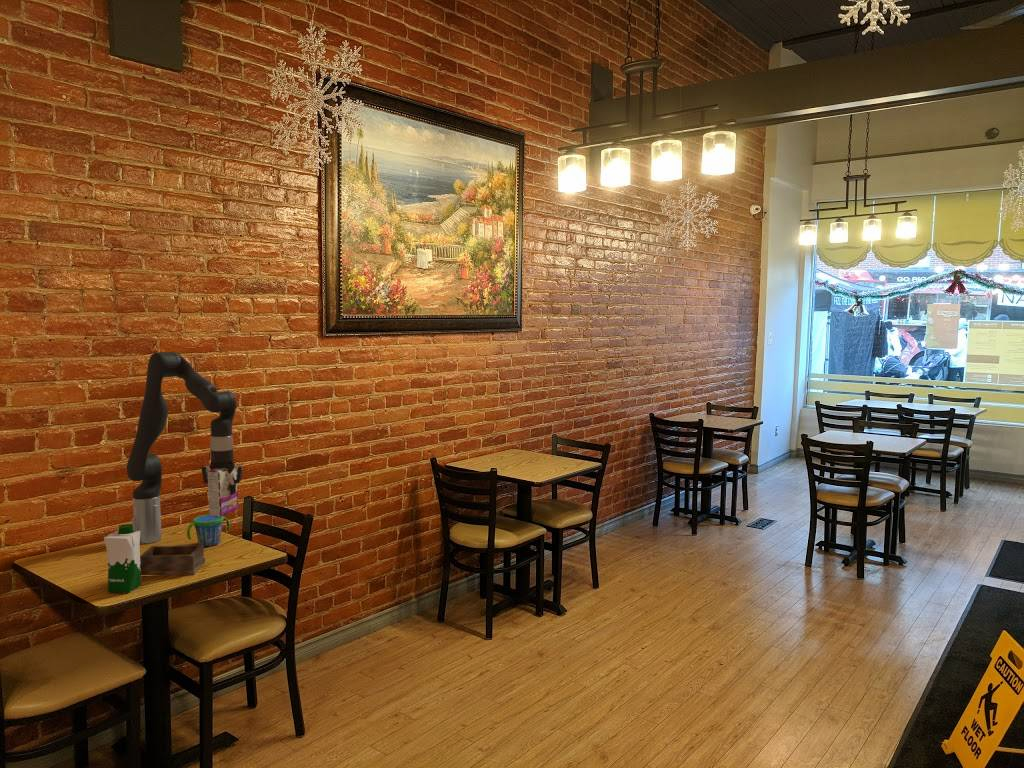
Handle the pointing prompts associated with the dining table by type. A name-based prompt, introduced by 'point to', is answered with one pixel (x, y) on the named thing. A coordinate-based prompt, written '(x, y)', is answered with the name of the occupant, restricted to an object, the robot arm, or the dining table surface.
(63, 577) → the dining table surface
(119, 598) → the dining table surface
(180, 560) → the slot holder
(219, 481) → the candy bar box
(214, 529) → the snack cup
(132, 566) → the milk carton
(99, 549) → the dining table surface
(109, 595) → the dining table surface
